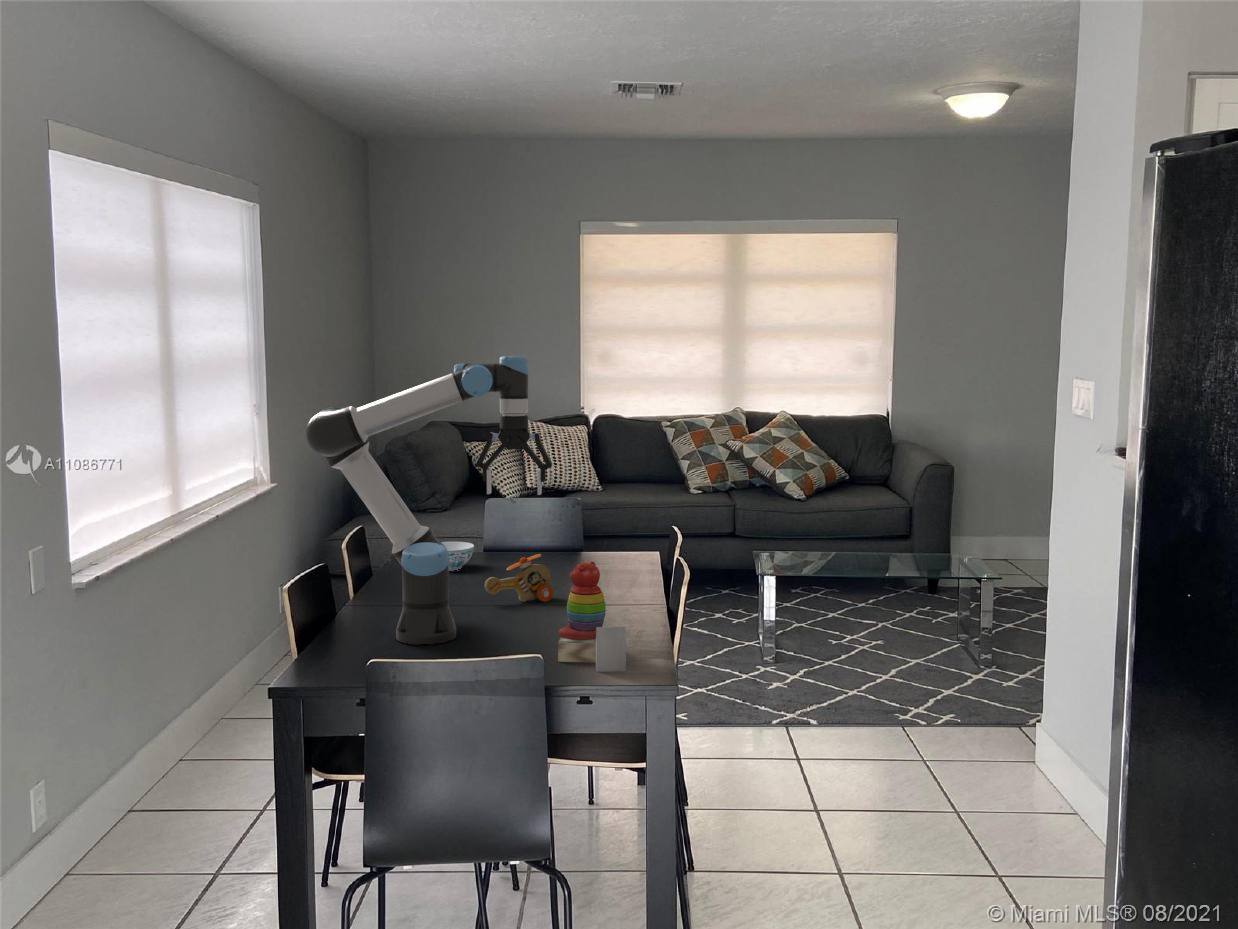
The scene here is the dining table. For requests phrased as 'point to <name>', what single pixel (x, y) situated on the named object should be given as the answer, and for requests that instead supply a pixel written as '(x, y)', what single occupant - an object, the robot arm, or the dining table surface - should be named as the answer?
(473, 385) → the robot arm
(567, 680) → the dining table surface
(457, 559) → the chinaware
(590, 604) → the stacking bear
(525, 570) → the toy helicopter
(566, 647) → the base block
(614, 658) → the white printed cardboard box
